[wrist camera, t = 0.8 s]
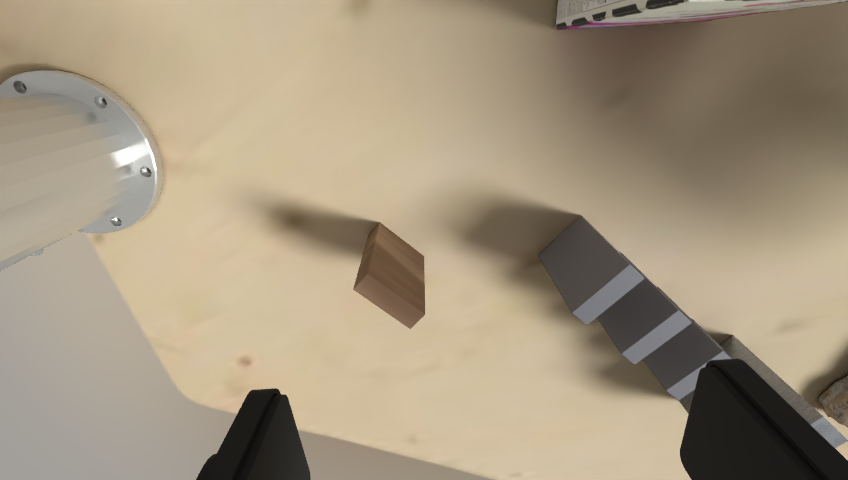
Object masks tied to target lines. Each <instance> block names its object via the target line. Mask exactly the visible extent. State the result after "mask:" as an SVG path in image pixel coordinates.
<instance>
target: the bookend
mask: <svg viewBox="0 0 848 480" xmlns="http://www.w3.org/2000/svg"><path fill="white" fill-rule="evenodd" d="M720 346H721V347H722V348H723V349H724V350H725V351H726V352H727V353H728V354H729V355H730V356H731V357H732V358H733V359H737V358H738V359H741V360H743V361H744V362H746V363H747V364H748V365H749V366H750V367H751V368H752V369H753V370H754V371H755V372H756V373H757V374H758V375H759V376H760V377H761V378H762V379H763V380H765V381H766V382H767V383H768V384H769V385H770V386H771V387H772V388H773V389H774V390H775V391H776V392H777V393H778V394H779V395H780V396H781V397H782V398H783V399H784V400H785V401H786V402H787V403H788V404H789V405H790V406H791V407H793V408H794V409H795V410H796V411H797V412H798V413H799V414H800V415H801V416H802V417H803V418H804V419H805V420H806V421H807V422H808V423H809V424H810V425H811V426H812V427H813V428H814V429H815V430H816V431H817V432H818V433H819V434H820V435H822V436H823V437H824V438H825V439H826V440H827V441H828V442H829V443H830V444H831V445H832V446H833V447H834V448H836V447H838V446H840V445H841V444H843V443H845V442H847V441H848V440H847V439H846V438H845V437H844V436H843V435H842V434H841V433H840V432H839V431H838V430H837V429H836V428H835V427H833V426H832V425H831V424H830V423H829V422H828V421H827V420H826V419H825V418H824V417H823V416H822V415H821V414H820V413H819V412H818V411H816V410H815V409H814V408H813V407H812V406H811V405H810V404H809V403H808V402H806V401H805V400H804V399H803V398H802V397H801V396H800V395H799V394H798V393H796V392H795V391H794V390H793V389H792V388H791V387H790V386H789V385H788V384H786V383H785V382H784V381H783V380H782V379H781V378H780V377H779V376H778V375H777V374H775V373H774V372H773V371H772V370H771V369H770V368H769V367H768V366H767V365H765V364H764V363H763V362H762V361H761V360H760V359H759V358H758V357H757V356H755V355H754V354H753V353H752V352H751V351H750V350H749V349H748V348H747V347H745V346H744V345H743V344H742V343H741V342H740V341H739V340H738V339H737V338H735V337H734V336H731V337H730V338H728V339H727V340H725V341H724V342H723V343H721V344H720ZM679 402H680V403H681V404H682V406H683V407H684V408H685V410H686V411H687V412H688V414H689V411H690V407H691V403H690V402H689V401H688V399H687V398H686V397H685V396H684V397H683V398H682V399H680V400H679Z"/></svg>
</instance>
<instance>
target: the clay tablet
mask: <svg viewBox="0 0 848 480" xmlns="http://www.w3.org/2000/svg"><path fill="white" fill-rule="evenodd" d="M818 398H819V401H820V403H821V405H822V406H823V407H824V412H825V413H826V415H827V416H828V417H830V416H831V417H832V418H833V419H834V420H836V421H837V422H838V423H840V424H842V425H845V426H847V427H848V375H847V376H845V377H844V378H843V379H840V380H837V381H836V382H835V383H834V384H832V385H831V386H830V387H829V388H828V389H827V390H826V391H824V392H823V393H822V394H821V395H820V396H819V397H818Z"/></svg>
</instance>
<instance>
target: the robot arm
mask: <svg viewBox="0 0 848 480" xmlns="http://www.w3.org/2000/svg"><path fill="white" fill-rule="evenodd" d="M162 181H163V170H162V162H161V157H160V154H159V151H158V148H157V145H156V143H155V141H154V139H153V137H152V135H151V133H150V131H149V129H148V128H147V126H146V125H145V124H144V122H143V121H142V120H141V118H140V117H139V115H138V114H137V113H136V112H135V111H134V110H133V109H132V108H131V107H130V106H129V105H128V104H127V103H126V102H125V101H124V100H123V99H121V98H120V97H119V96H117V95H116V94H115V93H114V92H112V91H111V90H110V89H108V88H106V87H104V86H102V85H101V84H99V83H97V82H95V81H94V80H91V79H88V78H86V77H83V76H80V75H78V74H75V73H69V72H64V71H59V70H40V71H31V72H23V73H20V74H17V75H14V76H12V77H10V78H8V79H7V80H5V81H4V82H3V83H1V84H0V271H1V270H3V269H5V268H7V267H9V266H11V265H13V264H15V263H17V262H19V261H21V260H23V259H24V258H26V257H28V256H37V255H40V254H41V253H42V252H43V250H44V249H45V248H46V247H47V246H49V245H51V244H53V243H55V242H57V241H59V240H61V239H63V238H65V237H67V236H69V235H71V234H72V233H75V232H76V231H80V232H87V233H110V232H115V231H120V230H122V229H125V228H127V227H130V226H132V225H133V224H135V223H137V222H138V221H140V220H141V219H143V218H144V217H145V216H146V215H147V214H148V213H149V212H150V211H151V210H152V209H153V207H154V206H155V204H156V202H157V201H158V198H159V195H160V192H161V189H162ZM680 457H681V461H682V464H683V466H684V468H685V470H686V471H687V473H688V475H689V476H690V478H691V479H692V480H848V461H847V460H846V459H845V458H844V457H843V456H842V455H841V454H840V453H839V452H838V451H837V450H836V449H835V448H834V447H833V446H832V445H831V444H830V443H829V442H828V441H827V440H826V439H825V438H824V437H823V436H822V435H820V434H819V433H818V432H817V431H816V430H815V429H814V428H813V427H812V426H811V425H810V424H809V423H808V422H807V421H806V420H805V419H804V418H803V417H802V416H801V415H800V414H799V413H798V412H797V411H796V410H795V409H794V408H793V407H791V406H790V405H789V404H788V403H787V402H786V401H785V400H784V399H783V398H782V397H781V396H780V395H779V394H778V393H777V392H776V391H775V390H774V389H773V388H772V387H771V386H770V385H769V384H768V383H767V382H766V381H765V380H763V379H762V378H761V377H760V376H759V375H758V374H757V373H756V372H755V371H754V370H753V369H752V368H751V367H750V366H749V365H748V364H747V363H746V362H744V361H743V360H741V359H738V358H737V359H722V360H710V361H709V362H707V364H706V366H705V367H704V368H701V369H700V371H699V375H698V379H697V383H696V387H695V391H694V395H693V399H692V403H691V407H690V411H689V415H688V420H687V424H686V428H685V432H684V436H683V440H682V444H681V448H680ZM196 480H310V471H309V467H308V464H307V461H306V457H305V454H304V450H303V447H302V444H301V440H300V437H299V434H298V430H297V427H296V424H295V420H294V417H293V414H292V410H291V407H290V404H289V400H288V397H287V396H286V395H281V394H280V391H279V390H278V389H261V390H252V391H250V392H249V393H248V395H247V397H246V399H245V400H244V402H243V404H242V406H241V408H240V410H239V412H238V414H237V416H236V418H235V420H234V422H233V424H232V426H231V427H230V429H229V431H228V433H227V435H226V437H225V439H224V441H223V443H222V445H221V447H220V449H219V451H218V453H217V454H214V455H212V456H211V457H210V458H209V459H208V460H207V462H206V463H205V464H204V466H203V468H202V470H201V471H200V473H199V475H198V477H197V479H196Z"/></svg>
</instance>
